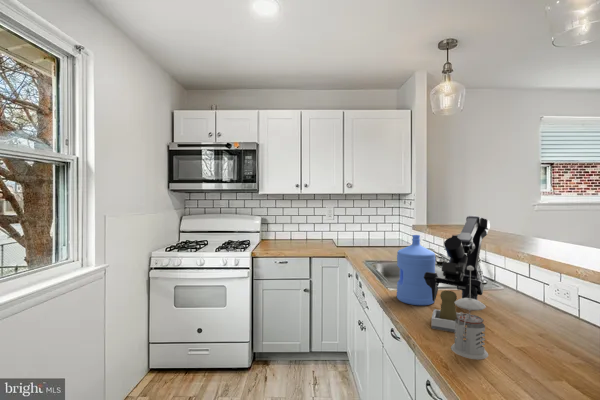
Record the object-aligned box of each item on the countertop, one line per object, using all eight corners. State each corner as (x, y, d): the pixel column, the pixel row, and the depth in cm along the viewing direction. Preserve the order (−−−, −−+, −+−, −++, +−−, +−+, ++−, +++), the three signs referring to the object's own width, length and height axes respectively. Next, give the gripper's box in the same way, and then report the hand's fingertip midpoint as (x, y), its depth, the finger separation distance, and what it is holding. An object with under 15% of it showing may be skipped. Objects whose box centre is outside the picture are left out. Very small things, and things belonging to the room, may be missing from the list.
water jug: (440, 299, 142) (441, 235, 141) (425, 309, 130) (426, 238, 130) (406, 292, 153) (407, 232, 152) (390, 300, 141) (390, 235, 141)
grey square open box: (433, 318, 120) (433, 309, 120) (464, 323, 116) (464, 313, 116) (431, 328, 112) (431, 318, 111) (464, 334, 107) (464, 323, 107)
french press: (493, 351, 96) (494, 265, 95) (480, 365, 87) (481, 272, 87) (458, 340, 103) (459, 260, 102) (442, 352, 94) (443, 266, 94)
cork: (451, 319, 117) (451, 288, 117) (461, 326, 111) (461, 293, 111) (435, 319, 117) (435, 289, 116) (444, 326, 111) (444, 294, 110)
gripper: (425, 250, 122) (414, 285, 114) (481, 256, 110) (473, 296, 102) (432, 267, 129) (422, 302, 120) (486, 275, 116) (478, 314, 108)
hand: (447, 303), depth 113 cm, fingers open, 9 cm apart
